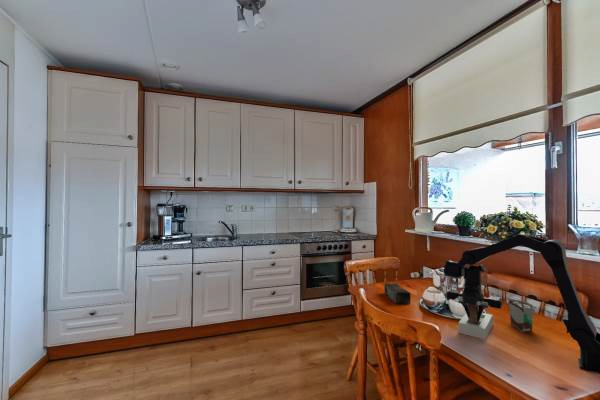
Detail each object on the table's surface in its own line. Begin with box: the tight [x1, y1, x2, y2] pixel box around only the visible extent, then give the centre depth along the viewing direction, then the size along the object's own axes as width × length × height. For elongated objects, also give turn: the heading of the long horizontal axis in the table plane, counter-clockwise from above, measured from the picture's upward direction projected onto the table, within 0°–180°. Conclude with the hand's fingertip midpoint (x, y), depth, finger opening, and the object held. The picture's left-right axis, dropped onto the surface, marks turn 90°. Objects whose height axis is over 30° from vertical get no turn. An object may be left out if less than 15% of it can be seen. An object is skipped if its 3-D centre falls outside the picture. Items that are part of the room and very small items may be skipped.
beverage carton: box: [384, 282, 411, 305], centre depth 155 cm, size 8×19×7 cm, turn 1°
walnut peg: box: [469, 304, 478, 325], centre depth 113 cm, size 3×3×10 cm
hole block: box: [458, 312, 494, 340], centre depth 116 cm, size 18×9×4 cm, turn 138°
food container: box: [508, 299, 536, 334], centre depth 116 cm, size 12×6×10 cm, turn 168°
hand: (473, 319), depth 113 cm, fingers closed on walnut peg, 3 cm apart
